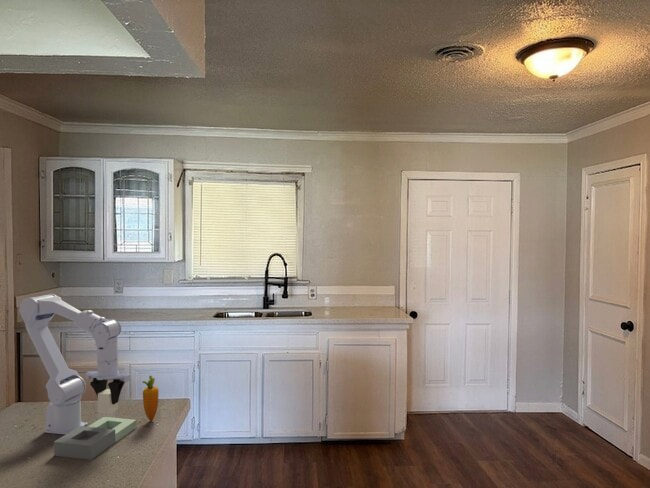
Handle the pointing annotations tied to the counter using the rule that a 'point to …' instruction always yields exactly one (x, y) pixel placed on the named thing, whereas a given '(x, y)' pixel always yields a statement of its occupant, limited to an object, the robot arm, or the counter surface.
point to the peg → (106, 402)
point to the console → (93, 438)
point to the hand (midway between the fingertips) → (108, 402)
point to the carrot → (150, 398)
